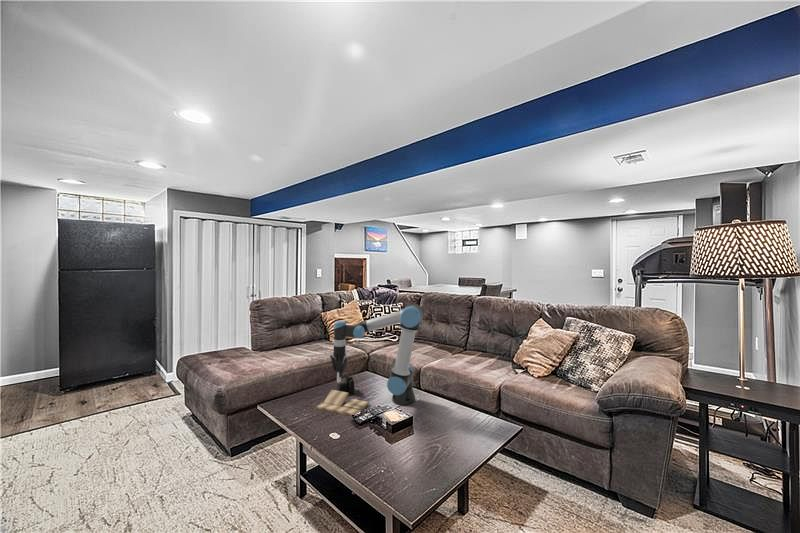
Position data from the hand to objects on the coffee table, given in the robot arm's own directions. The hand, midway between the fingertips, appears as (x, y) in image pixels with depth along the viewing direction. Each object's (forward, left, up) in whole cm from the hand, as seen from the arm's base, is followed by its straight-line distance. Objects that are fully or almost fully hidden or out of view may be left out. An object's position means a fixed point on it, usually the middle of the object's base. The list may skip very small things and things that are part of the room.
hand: (338, 381), depth 215 cm
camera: (+5, -16, -13) cm, 21 cm away
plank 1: (0, +2, -10) cm, 10 cm away
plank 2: (-14, +2, -12) cm, 19 cm away
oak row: (-7, +11, -13) cm, 18 cm away
